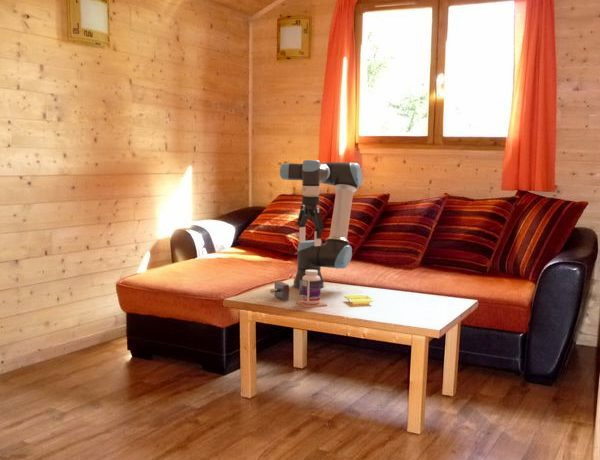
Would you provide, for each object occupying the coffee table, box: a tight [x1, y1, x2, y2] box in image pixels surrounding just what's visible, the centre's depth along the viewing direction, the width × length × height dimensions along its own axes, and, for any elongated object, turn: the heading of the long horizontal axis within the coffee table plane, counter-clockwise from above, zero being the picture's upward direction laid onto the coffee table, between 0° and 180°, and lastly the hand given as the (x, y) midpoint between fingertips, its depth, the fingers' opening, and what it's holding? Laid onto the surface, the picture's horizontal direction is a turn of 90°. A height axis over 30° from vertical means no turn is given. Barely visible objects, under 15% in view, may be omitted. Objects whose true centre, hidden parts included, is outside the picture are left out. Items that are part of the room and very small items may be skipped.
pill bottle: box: [301, 270, 321, 304], centre depth 281 cm, size 8×8×14 cm
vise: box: [269, 280, 302, 302], centre depth 294 cm, size 24×9×7 cm, turn 117°
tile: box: [295, 300, 328, 309], centre depth 281 cm, size 10×10×1 cm
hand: (309, 243), depth 281 cm, fingers open, 13 cm apart
